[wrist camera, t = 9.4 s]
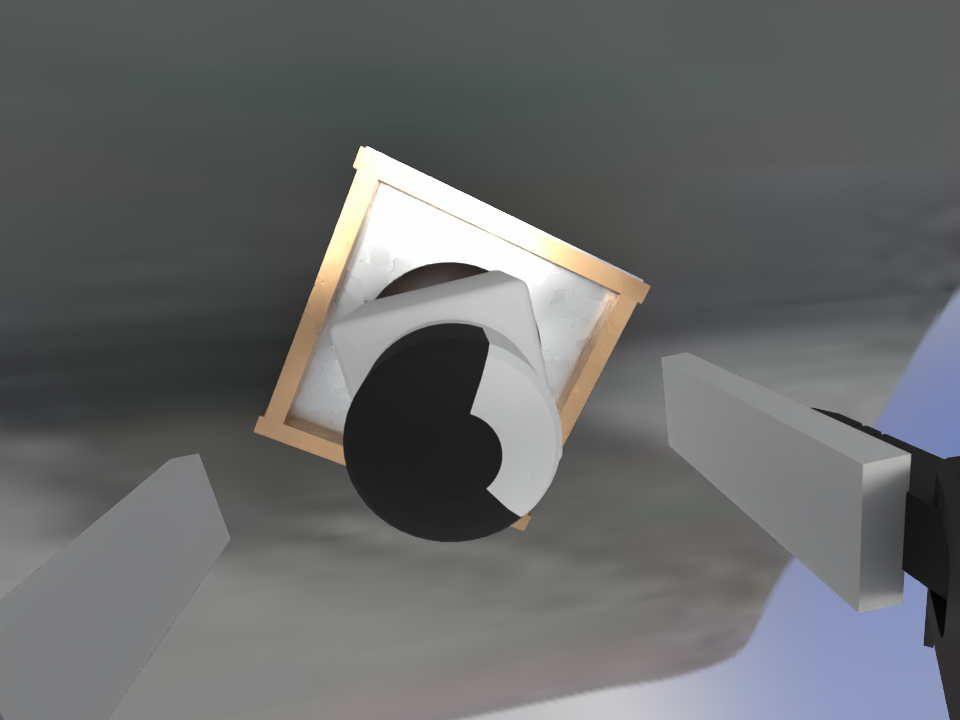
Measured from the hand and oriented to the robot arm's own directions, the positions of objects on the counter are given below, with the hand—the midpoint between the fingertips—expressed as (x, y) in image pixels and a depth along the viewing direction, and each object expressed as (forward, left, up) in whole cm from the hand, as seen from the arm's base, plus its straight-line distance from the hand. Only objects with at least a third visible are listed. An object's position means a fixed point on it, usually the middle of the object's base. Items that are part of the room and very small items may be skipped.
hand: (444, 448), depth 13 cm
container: (0, 0, -13) cm, 13 cm away
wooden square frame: (0, 0, -14) cm, 14 cm away
